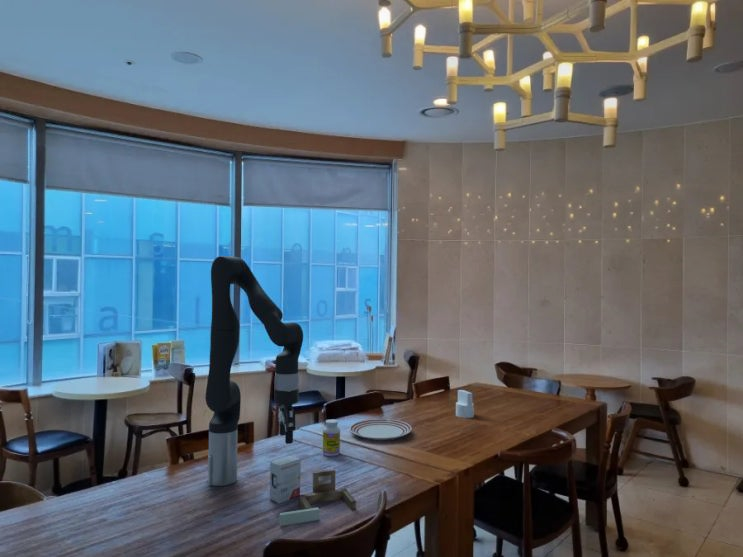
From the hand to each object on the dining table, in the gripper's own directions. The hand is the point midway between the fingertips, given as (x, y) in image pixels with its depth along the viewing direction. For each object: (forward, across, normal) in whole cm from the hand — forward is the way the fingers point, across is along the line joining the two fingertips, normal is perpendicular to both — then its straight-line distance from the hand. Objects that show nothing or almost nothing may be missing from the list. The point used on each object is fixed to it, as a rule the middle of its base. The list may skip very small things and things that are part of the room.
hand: (286, 439), depth 160 cm
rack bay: (+18, +9, +10) cm, 23 cm away
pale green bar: (+18, +17, 0) cm, 25 cm away
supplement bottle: (+18, -34, +25) cm, 46 cm away
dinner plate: (+19, -52, +53) cm, 76 cm away
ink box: (+18, 0, 0) cm, 18 cm away
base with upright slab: (+18, -66, +105) cm, 126 cm away
